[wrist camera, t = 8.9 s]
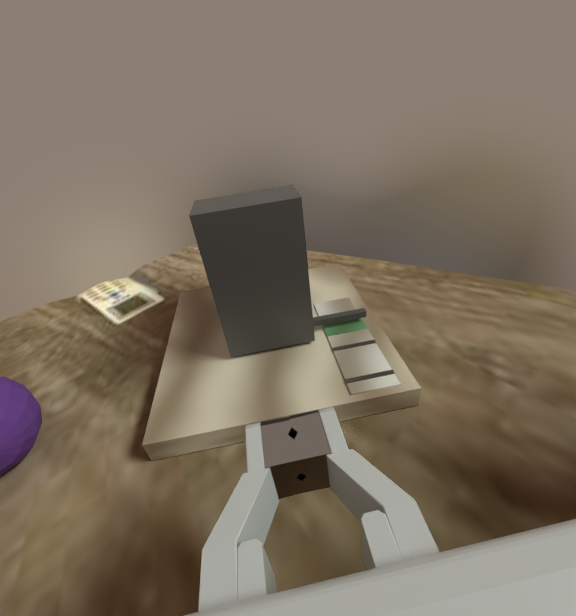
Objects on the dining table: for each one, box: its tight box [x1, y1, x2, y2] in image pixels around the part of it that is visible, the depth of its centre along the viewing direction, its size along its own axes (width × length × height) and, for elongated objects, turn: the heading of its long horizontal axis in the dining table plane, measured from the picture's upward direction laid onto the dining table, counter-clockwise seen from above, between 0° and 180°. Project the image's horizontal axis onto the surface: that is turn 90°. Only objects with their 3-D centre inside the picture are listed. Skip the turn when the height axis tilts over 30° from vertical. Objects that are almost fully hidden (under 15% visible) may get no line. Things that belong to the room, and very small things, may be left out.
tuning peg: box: [189, 185, 367, 357], centre depth 25 cm, size 10×11×10 cm
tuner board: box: [142, 264, 421, 461], centre depth 23 cm, size 16×17×10 cm
